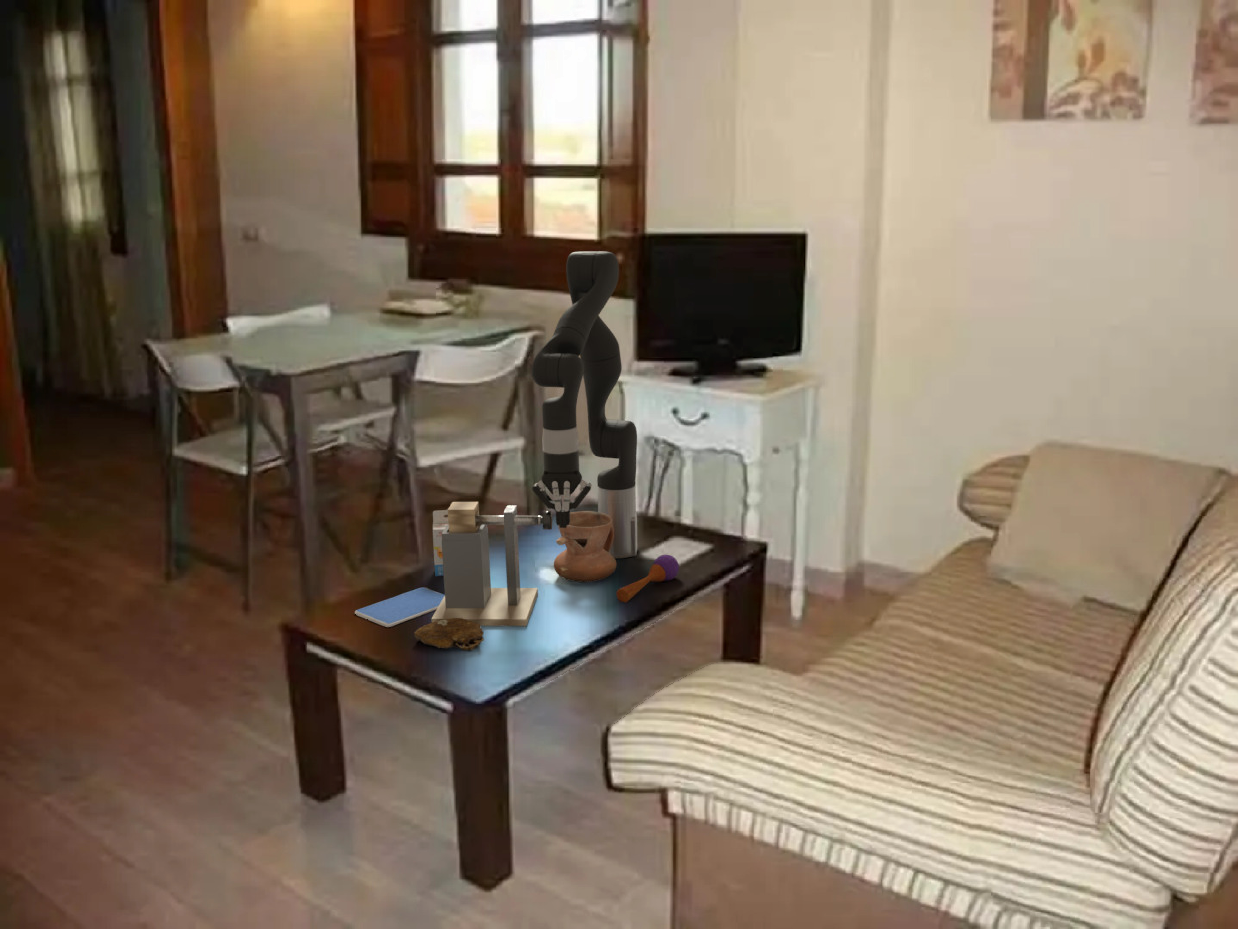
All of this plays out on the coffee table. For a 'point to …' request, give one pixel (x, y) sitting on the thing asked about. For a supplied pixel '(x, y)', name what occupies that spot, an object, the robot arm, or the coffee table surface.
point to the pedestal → (466, 568)
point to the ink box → (439, 539)
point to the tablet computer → (402, 607)
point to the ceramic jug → (586, 548)
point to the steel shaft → (517, 520)
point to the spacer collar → (463, 517)
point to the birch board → (494, 609)
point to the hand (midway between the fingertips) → (563, 526)
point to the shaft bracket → (512, 556)
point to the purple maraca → (651, 576)
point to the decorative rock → (451, 634)
